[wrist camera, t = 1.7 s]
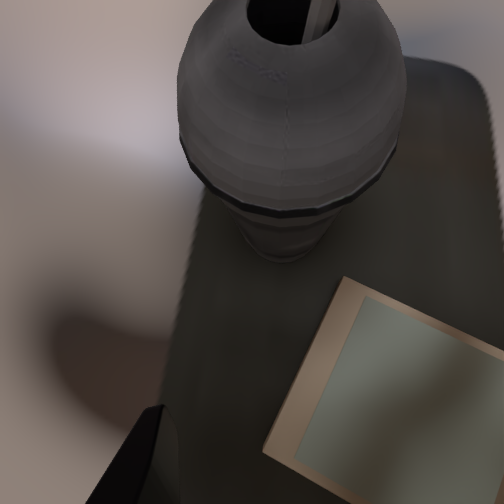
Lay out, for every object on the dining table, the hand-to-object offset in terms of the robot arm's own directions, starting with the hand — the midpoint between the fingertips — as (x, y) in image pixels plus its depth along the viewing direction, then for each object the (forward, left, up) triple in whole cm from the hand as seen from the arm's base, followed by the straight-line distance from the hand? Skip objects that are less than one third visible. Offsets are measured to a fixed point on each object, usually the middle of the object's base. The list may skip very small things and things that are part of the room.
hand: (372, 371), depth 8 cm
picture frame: (-5, 0, -14) cm, 15 cm away
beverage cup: (+5, -6, -14) cm, 16 cm away
